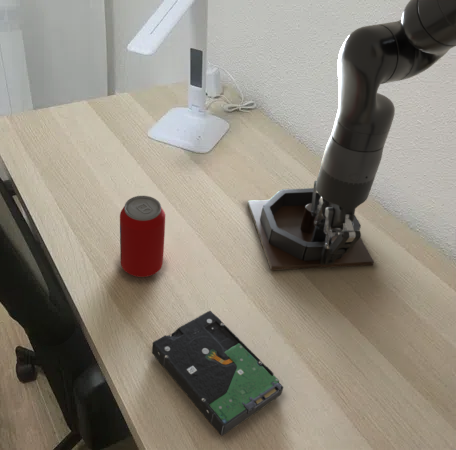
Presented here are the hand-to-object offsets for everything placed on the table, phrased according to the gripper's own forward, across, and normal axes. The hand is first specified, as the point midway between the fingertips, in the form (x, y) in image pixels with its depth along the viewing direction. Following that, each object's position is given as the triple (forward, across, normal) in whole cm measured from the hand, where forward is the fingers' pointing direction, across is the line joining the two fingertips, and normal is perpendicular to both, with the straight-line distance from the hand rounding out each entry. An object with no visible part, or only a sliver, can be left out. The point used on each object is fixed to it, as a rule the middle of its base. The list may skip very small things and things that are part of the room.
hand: (321, 253), depth 89 cm
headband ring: (+1, +7, 0) cm, 7 cm away
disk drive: (+2, -20, +21) cm, 29 cm away
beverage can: (+2, +1, +29) cm, 29 cm away
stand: (+2, +7, 0) cm, 7 cm away
